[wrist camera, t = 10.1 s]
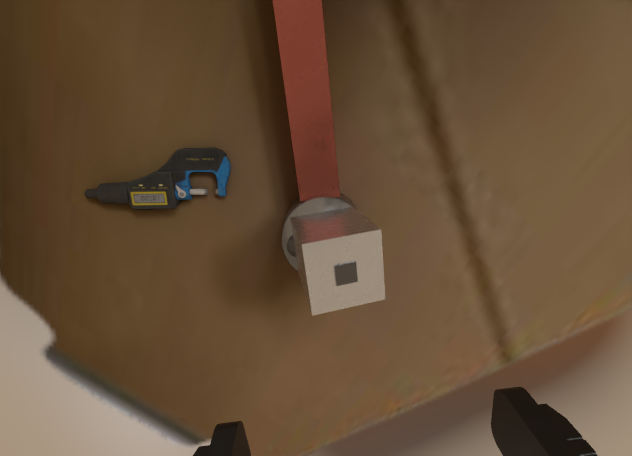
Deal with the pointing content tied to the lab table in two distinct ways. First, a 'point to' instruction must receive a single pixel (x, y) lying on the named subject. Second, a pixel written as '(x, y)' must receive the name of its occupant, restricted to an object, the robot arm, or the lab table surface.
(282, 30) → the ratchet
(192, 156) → the micrometer
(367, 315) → the lab table surface
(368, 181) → the lab table surface
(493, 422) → the robot arm
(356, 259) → the cube with square hole
